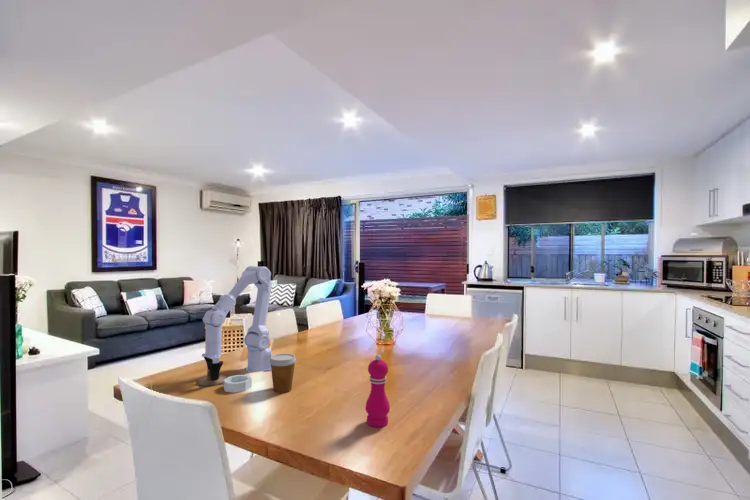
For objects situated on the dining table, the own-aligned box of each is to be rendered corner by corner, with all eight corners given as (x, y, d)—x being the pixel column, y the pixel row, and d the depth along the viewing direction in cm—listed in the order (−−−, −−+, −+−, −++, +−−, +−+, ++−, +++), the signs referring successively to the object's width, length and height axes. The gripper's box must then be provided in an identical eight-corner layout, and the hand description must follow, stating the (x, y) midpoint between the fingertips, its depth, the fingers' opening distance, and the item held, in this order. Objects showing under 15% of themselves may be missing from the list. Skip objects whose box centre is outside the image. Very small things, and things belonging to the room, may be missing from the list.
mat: (224, 376, 147) (224, 375, 147) (229, 384, 139) (229, 383, 139) (197, 380, 142) (197, 379, 142) (199, 389, 134) (199, 388, 134)
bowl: (247, 382, 141) (247, 373, 141) (253, 390, 133) (253, 380, 133) (222, 386, 136) (222, 377, 136) (226, 395, 128) (226, 385, 128)
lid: (224, 375, 147) (225, 364, 147) (229, 383, 139) (229, 371, 139) (197, 379, 142) (197, 368, 142) (199, 388, 134) (200, 375, 134)
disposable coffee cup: (300, 387, 137) (301, 354, 137) (286, 396, 128) (287, 361, 128) (278, 384, 140) (279, 352, 140) (263, 392, 131) (263, 359, 131)
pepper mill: (364, 417, 112) (365, 351, 112) (388, 416, 113) (388, 351, 113) (366, 428, 105) (366, 358, 105) (391, 427, 105) (391, 358, 106)
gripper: (200, 338, 145) (199, 373, 145) (204, 347, 132) (203, 385, 132) (219, 337, 148) (219, 370, 148) (225, 344, 136) (224, 381, 136)
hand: (213, 377), depth 140 cm, fingers open, 7 cm apart
